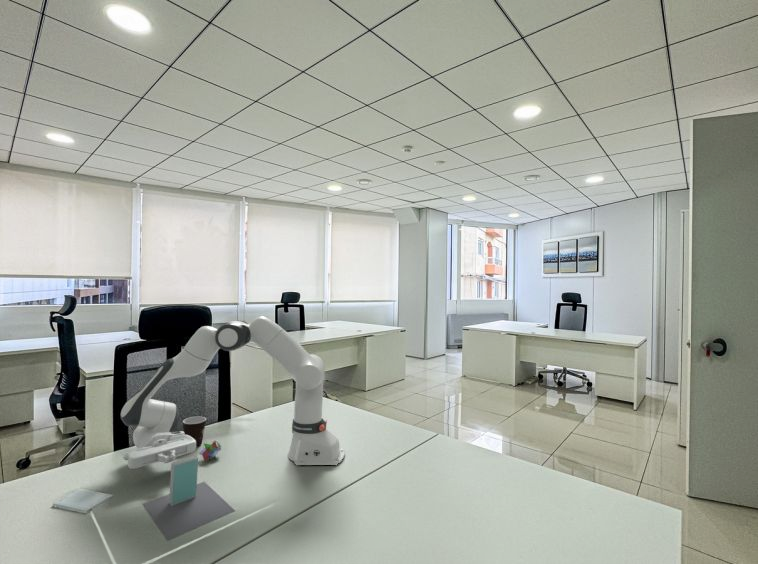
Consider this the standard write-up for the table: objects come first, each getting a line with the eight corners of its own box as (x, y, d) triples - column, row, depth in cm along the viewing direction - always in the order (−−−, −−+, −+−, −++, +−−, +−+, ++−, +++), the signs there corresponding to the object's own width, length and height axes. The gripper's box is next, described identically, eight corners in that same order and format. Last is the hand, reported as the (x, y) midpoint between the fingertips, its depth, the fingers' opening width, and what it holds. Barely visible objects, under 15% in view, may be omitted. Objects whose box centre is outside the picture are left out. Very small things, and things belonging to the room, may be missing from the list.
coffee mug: (195, 450, 144) (196, 425, 144) (176, 447, 145) (177, 422, 146) (214, 438, 155) (215, 415, 155) (196, 436, 157) (197, 413, 157)
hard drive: (52, 502, 105) (86, 509, 102) (80, 487, 113) (113, 493, 110) (52, 508, 105) (86, 515, 102) (80, 493, 113) (113, 499, 110)
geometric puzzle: (206, 461, 130) (217, 439, 135) (191, 458, 133) (202, 435, 137) (217, 466, 136) (227, 444, 140) (203, 463, 138) (213, 441, 143)
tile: (169, 503, 108) (171, 462, 108) (193, 493, 113) (195, 455, 113) (171, 506, 106) (173, 465, 106) (196, 496, 111) (198, 457, 112)
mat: (141, 505, 107) (142, 503, 107) (204, 483, 120) (204, 481, 120) (167, 543, 92) (167, 540, 92) (235, 512, 105) (235, 510, 105)
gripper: (122, 445, 119) (134, 460, 110) (187, 429, 135) (202, 441, 125) (121, 464, 119) (132, 481, 110) (186, 446, 134) (201, 459, 125)
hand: (170, 459), depth 118 cm, fingers closed
